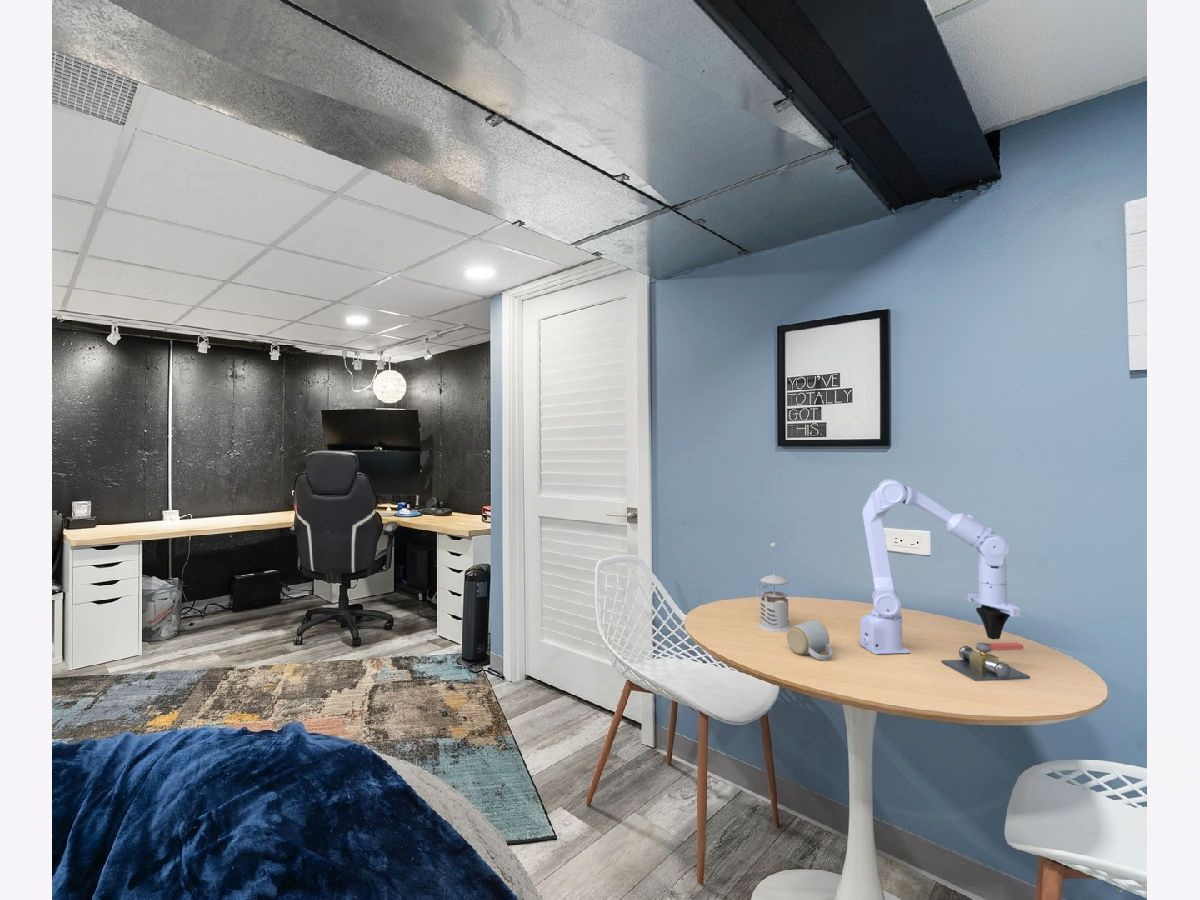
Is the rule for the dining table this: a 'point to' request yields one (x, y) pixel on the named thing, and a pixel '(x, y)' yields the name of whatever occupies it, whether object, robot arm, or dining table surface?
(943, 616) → the dining table surface
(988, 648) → the valve lever
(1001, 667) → the valve assembly
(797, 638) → the ceramic mug
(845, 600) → the dining table surface
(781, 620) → the french press
